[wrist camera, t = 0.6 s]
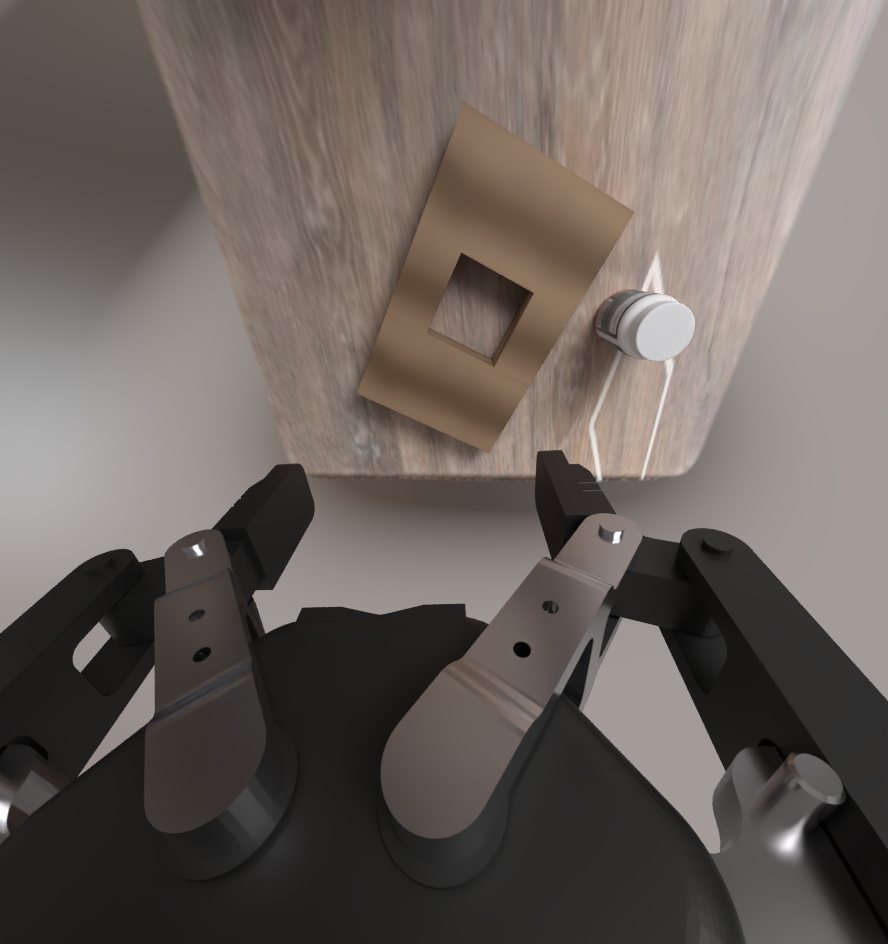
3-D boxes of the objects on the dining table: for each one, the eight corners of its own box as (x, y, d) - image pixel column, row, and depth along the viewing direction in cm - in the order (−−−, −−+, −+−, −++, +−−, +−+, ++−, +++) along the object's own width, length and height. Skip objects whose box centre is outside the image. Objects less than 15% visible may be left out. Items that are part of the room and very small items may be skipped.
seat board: (463, 117, 27) (463, 102, 25) (619, 216, 30) (634, 212, 27) (363, 384, 37) (356, 393, 35) (486, 440, 40) (488, 453, 37)
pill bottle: (655, 327, 34) (709, 345, 26) (604, 354, 35) (643, 379, 28) (638, 277, 32) (692, 281, 25) (586, 308, 33) (622, 321, 26)
